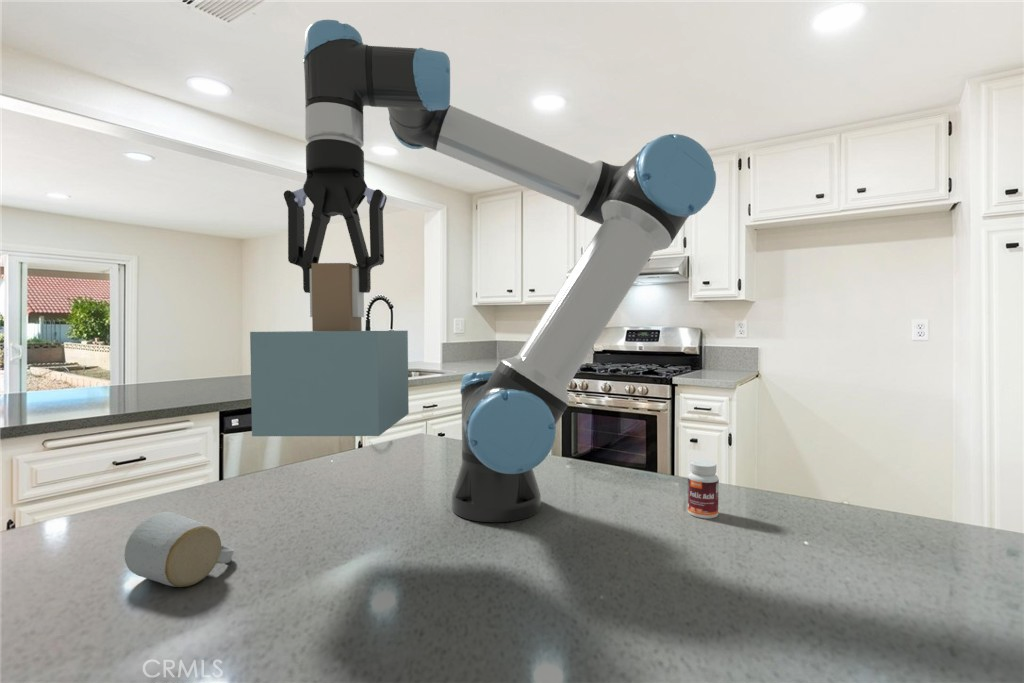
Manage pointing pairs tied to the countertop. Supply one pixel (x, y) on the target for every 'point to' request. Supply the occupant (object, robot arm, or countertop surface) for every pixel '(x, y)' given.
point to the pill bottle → (703, 489)
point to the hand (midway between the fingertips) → (337, 316)
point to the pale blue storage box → (329, 369)
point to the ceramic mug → (174, 550)
